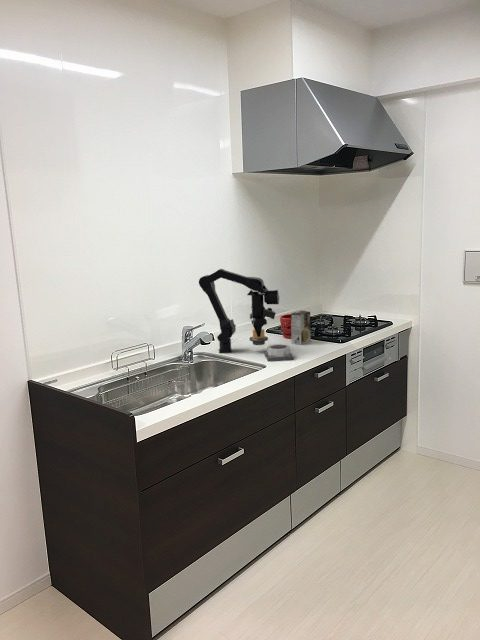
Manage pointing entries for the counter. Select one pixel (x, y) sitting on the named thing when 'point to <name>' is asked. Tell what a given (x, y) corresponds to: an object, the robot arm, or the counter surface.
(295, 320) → the coffee box
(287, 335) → the plant pot
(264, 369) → the counter surface
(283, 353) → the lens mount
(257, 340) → the disc with orange block
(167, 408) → the counter surface
